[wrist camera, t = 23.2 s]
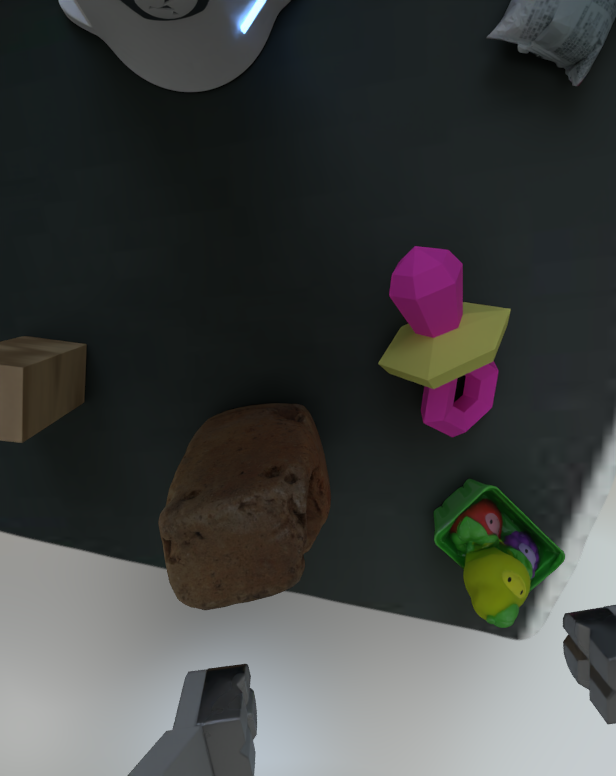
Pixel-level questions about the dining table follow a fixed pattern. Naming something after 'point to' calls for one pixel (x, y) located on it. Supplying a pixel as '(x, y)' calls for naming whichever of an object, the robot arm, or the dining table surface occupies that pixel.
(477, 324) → the toy
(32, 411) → the maple block
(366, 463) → the dining table surface
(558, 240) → the dining table surface
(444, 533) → the fruit basket
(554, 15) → the packaged food
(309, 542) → the block
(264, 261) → the dining table surface
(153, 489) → the dining table surface
